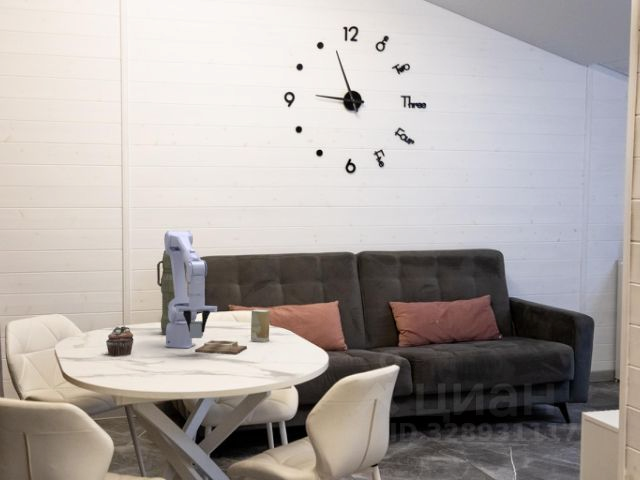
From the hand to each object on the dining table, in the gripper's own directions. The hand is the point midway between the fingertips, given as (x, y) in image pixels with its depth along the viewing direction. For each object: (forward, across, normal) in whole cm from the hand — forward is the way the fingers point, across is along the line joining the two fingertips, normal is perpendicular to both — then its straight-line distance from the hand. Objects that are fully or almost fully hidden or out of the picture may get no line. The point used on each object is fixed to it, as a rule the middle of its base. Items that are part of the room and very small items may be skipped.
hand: (196, 331), depth 306 cm
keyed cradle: (+8, +8, +8) cm, 14 cm away
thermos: (+9, -15, +45) cm, 48 cm away
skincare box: (+9, +22, +29) cm, 37 cm away
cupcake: (+9, -28, +2) cm, 29 cm away
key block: (+2, 0, 0) cm, 2 cm away
